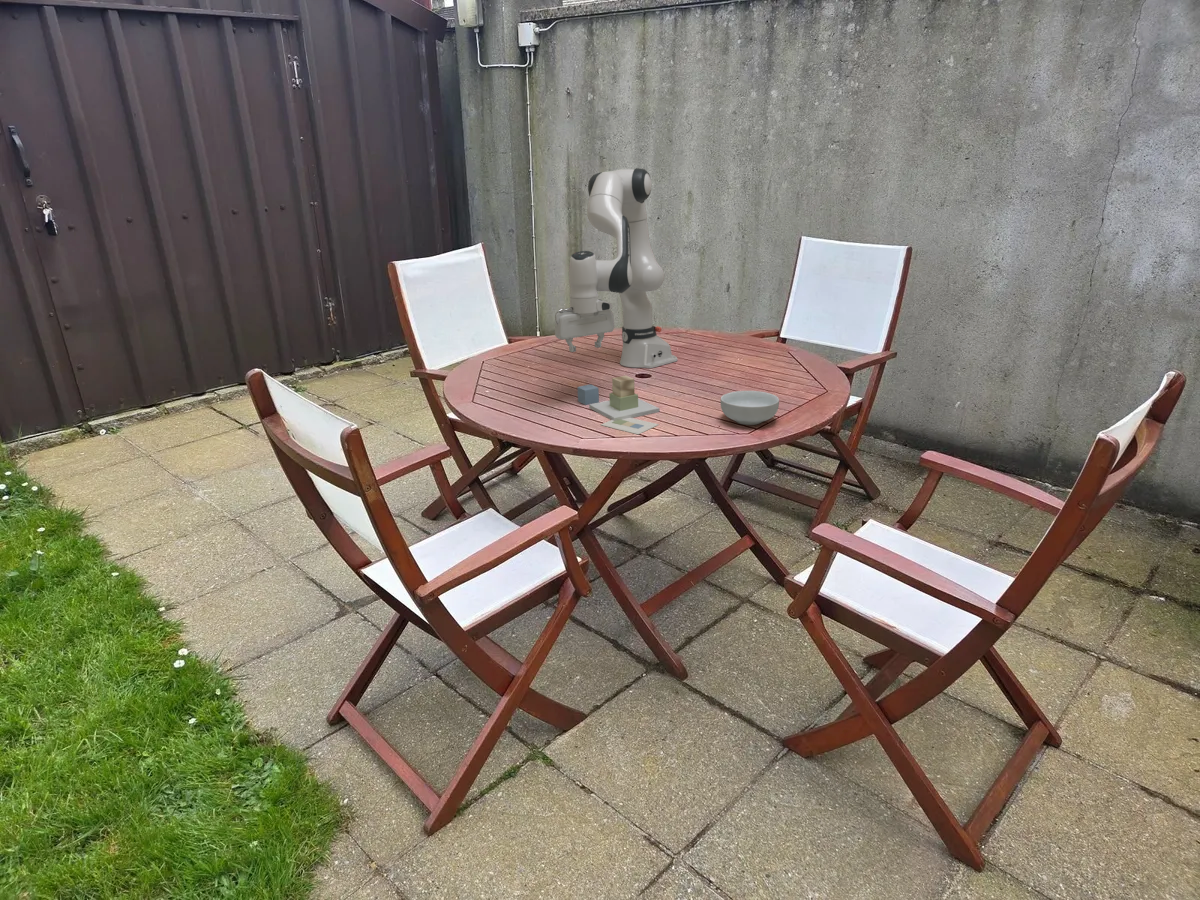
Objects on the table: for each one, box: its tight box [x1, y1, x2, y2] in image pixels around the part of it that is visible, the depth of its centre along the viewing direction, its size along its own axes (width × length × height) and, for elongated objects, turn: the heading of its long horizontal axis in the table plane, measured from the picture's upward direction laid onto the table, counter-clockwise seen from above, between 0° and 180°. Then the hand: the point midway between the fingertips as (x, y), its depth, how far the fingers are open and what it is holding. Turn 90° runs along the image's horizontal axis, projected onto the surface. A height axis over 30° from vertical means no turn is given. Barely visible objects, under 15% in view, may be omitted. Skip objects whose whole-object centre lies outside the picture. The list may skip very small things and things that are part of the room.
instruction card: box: [600, 417, 659, 435], centre depth 220 cm, size 10×14×1 cm
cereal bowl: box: [720, 390, 780, 426], centre depth 219 cm, size 17×17×7 cm
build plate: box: [588, 392, 660, 421], centre depth 233 cm, size 16×16×5 cm
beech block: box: [611, 375, 636, 397], centre depth 231 cm, size 5×5×5 cm
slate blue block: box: [577, 383, 600, 406], centre depth 242 cm, size 5×5×5 cm
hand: (585, 349), depth 236 cm, fingers open, 8 cm apart
